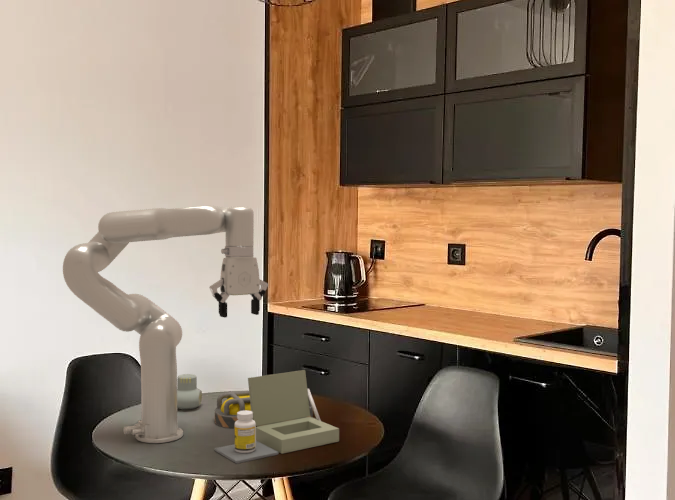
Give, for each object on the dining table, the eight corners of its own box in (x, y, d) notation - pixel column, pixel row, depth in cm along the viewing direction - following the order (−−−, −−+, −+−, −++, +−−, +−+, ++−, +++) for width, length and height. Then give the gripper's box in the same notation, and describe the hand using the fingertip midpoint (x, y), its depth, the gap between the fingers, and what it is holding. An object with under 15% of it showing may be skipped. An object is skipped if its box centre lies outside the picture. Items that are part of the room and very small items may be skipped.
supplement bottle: (237, 446, 192) (237, 409, 191) (258, 447, 191) (258, 410, 190) (231, 453, 186) (231, 414, 186) (252, 454, 185) (252, 415, 185)
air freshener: (197, 412, 226) (197, 379, 226) (170, 412, 226) (170, 379, 226) (202, 402, 237) (202, 372, 237) (176, 402, 237) (176, 372, 237)
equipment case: (281, 453, 188) (282, 390, 187) (247, 436, 202) (247, 377, 201) (342, 440, 199) (342, 380, 198) (305, 424, 213) (306, 368, 213)
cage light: (209, 391, 220) (302, 382, 233) (209, 418, 221) (302, 407, 233) (222, 403, 207) (320, 393, 219) (222, 431, 207) (320, 419, 220)
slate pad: (236, 463, 180) (236, 461, 180) (214, 450, 190) (214, 448, 190) (278, 454, 187) (278, 452, 187) (255, 442, 197) (255, 440, 197)
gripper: (216, 254, 191) (216, 319, 192) (274, 252, 202) (273, 314, 202) (204, 252, 197) (204, 316, 198) (260, 251, 208) (260, 311, 208)
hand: (239, 315), depth 200 cm, fingers open, 9 cm apart
